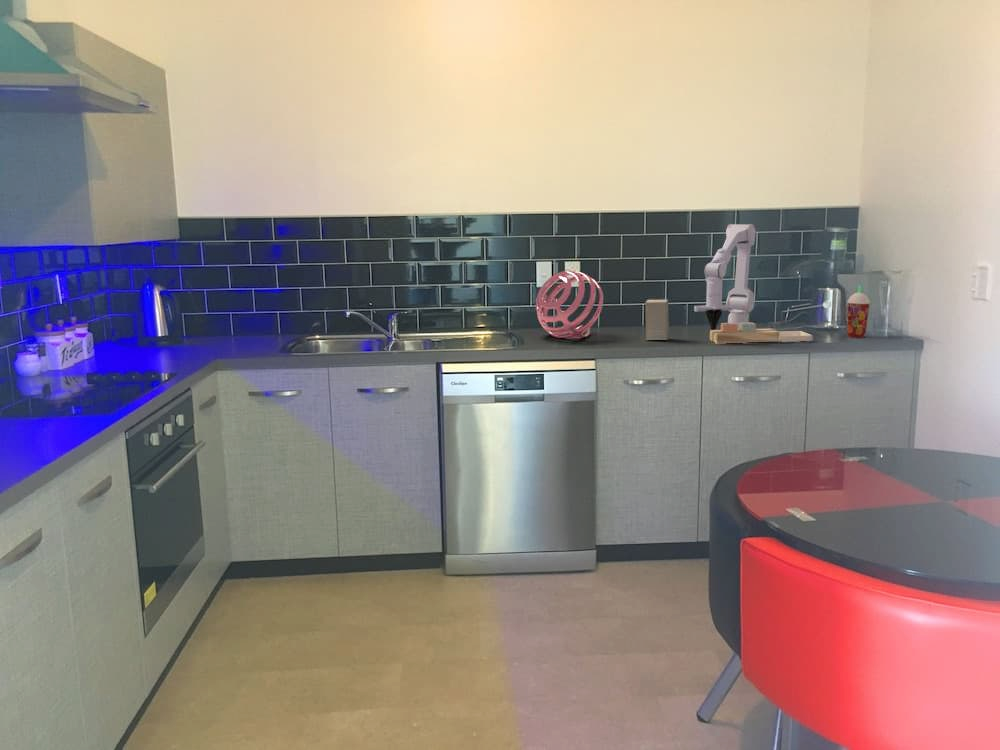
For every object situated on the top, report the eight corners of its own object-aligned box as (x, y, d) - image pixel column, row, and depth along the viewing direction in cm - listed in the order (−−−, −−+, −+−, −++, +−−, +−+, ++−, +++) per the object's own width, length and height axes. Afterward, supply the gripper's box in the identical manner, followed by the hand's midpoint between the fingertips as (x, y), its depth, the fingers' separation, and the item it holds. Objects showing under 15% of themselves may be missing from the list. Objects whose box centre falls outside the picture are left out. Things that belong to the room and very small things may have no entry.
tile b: (738, 330, 325) (738, 322, 324) (751, 329, 325) (751, 322, 325) (742, 332, 320) (743, 324, 319) (755, 331, 320) (756, 324, 320)
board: (709, 340, 327) (710, 330, 326) (770, 338, 328) (770, 328, 328) (717, 344, 318) (717, 333, 318) (778, 342, 320) (779, 332, 319)
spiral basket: (585, 283, 358) (550, 250, 339) (630, 304, 338) (595, 270, 319) (548, 336, 358) (511, 307, 339) (590, 361, 338) (553, 331, 319)
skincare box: (668, 338, 332) (669, 299, 329) (666, 342, 325) (667, 301, 322) (647, 338, 335) (648, 298, 331) (644, 341, 328) (645, 300, 325)
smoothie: (868, 335, 331) (871, 284, 327) (867, 338, 324) (871, 287, 320) (845, 334, 335) (848, 284, 331) (844, 337, 327) (847, 286, 323)
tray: (769, 338, 329) (770, 331, 329) (800, 337, 330) (801, 330, 330) (780, 342, 319) (781, 336, 318) (812, 342, 319) (813, 335, 319)
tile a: (720, 330, 325) (720, 323, 324) (733, 330, 325) (733, 322, 324) (724, 332, 320) (725, 324, 319) (737, 332, 320) (738, 324, 319)
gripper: (698, 296, 315) (697, 331, 317) (736, 295, 315) (735, 330, 318) (693, 293, 322) (692, 328, 324) (730, 292, 322) (729, 327, 325)
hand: (713, 329), depth 322 cm, fingers closed
